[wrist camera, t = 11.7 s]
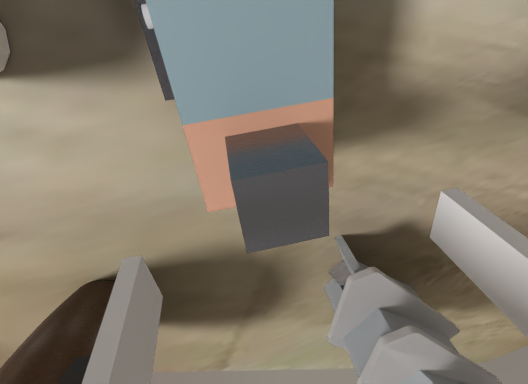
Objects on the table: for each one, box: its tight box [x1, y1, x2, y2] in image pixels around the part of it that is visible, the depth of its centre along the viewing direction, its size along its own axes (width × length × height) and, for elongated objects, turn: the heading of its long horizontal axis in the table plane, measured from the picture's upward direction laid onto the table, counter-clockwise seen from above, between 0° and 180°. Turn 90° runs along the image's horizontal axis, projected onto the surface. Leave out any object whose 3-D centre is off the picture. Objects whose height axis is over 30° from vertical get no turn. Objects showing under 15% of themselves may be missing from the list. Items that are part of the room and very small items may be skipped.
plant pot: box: [0, 281, 115, 384], centre depth 30 cm, size 15×15×16 cm
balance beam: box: [141, 0, 334, 212], centre depth 16 cm, size 26×11×2 cm, turn 8°
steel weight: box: [225, 123, 329, 253], centre depth 18 cm, size 5×5×6 cm
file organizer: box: [324, 235, 502, 384], centre depth 34 cm, size 26×35×22 cm
